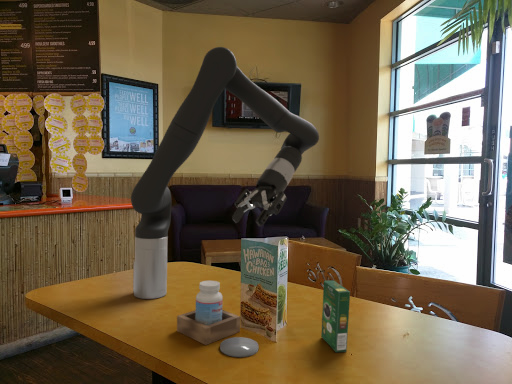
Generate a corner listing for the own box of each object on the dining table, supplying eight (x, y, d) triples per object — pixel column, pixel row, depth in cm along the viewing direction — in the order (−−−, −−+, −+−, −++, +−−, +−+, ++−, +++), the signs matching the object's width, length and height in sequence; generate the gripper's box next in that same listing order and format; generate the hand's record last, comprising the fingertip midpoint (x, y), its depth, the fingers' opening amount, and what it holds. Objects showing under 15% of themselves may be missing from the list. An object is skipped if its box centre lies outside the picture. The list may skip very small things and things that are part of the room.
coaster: (212, 347, 81) (212, 345, 81) (239, 336, 86) (239, 334, 86) (239, 361, 75) (239, 358, 75) (266, 348, 81) (266, 345, 81)
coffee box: (348, 352, 80) (351, 290, 80) (335, 353, 80) (338, 290, 79) (332, 336, 88) (334, 279, 88) (320, 337, 87) (322, 280, 87)
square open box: (176, 330, 89) (177, 315, 88) (210, 319, 96) (211, 305, 96) (205, 345, 82) (206, 328, 82) (239, 331, 89) (240, 316, 89)
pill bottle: (217, 338, 85) (218, 288, 85) (191, 335, 87) (192, 285, 86) (224, 327, 91) (226, 280, 91) (200, 324, 93) (201, 278, 92)
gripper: (250, 167, 109) (219, 210, 102) (290, 168, 100) (259, 215, 92) (262, 186, 114) (233, 228, 106) (302, 188, 104) (273, 235, 96)
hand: (245, 222), depth 99 cm, fingers open, 8 cm apart
